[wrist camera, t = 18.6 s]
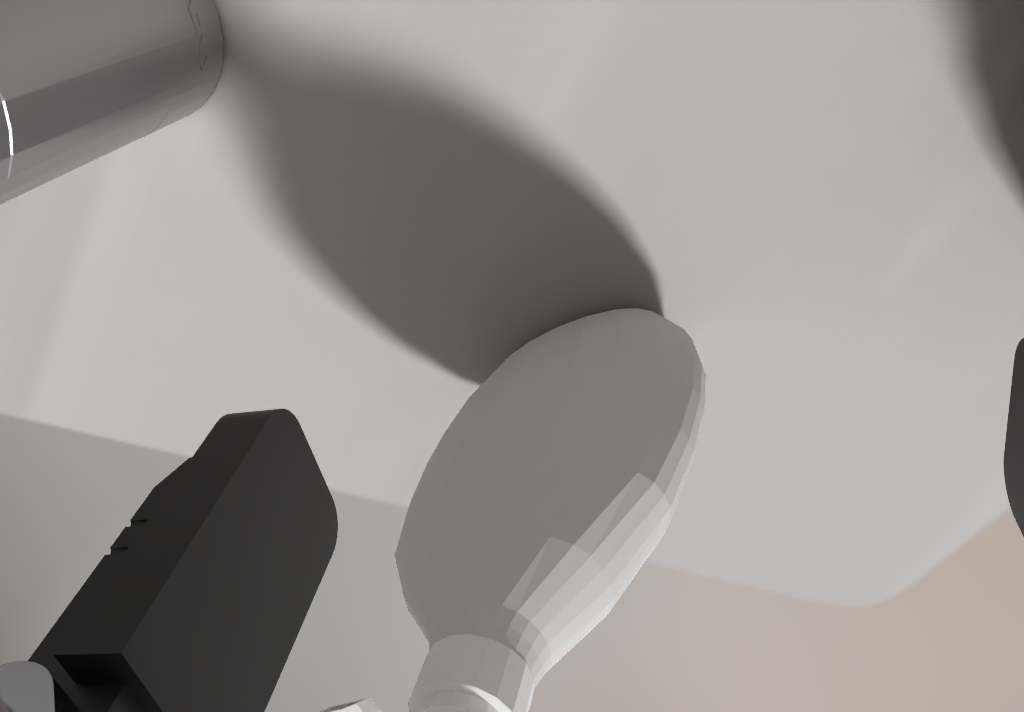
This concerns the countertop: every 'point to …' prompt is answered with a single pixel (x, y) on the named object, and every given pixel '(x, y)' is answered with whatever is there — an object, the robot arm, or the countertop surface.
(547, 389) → the soap bottle
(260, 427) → the robot arm
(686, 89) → the countertop surface
